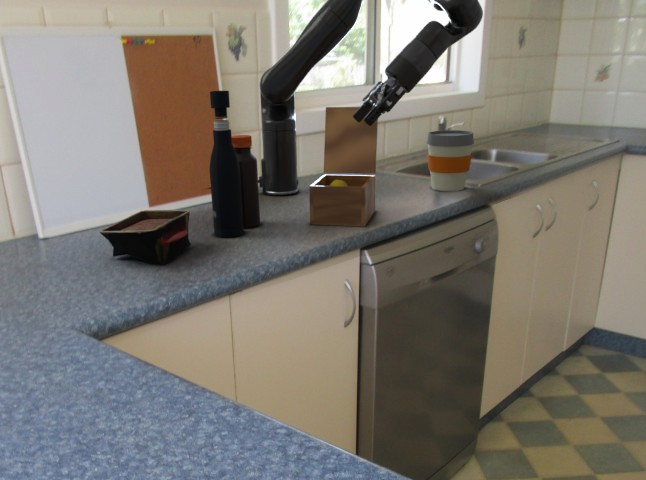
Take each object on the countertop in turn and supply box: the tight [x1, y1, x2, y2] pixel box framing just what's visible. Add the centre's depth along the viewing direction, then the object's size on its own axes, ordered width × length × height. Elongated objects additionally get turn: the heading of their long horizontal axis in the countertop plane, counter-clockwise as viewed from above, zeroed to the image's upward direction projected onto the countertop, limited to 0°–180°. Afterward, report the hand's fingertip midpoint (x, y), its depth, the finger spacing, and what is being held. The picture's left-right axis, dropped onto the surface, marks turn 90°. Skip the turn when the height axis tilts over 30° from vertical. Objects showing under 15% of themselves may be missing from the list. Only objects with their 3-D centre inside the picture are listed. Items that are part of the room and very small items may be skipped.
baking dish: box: [99, 209, 192, 266], centre depth 132 cm, size 14×18×10 cm
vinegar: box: [231, 134, 261, 229], centre depth 149 cm, size 7×7×20 cm
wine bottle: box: [209, 90, 245, 239], centre depth 140 cm, size 6×6×30 cm
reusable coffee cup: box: [426, 129, 475, 192], centre depth 183 cm, size 13×13×15 cm
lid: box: [323, 106, 379, 174], centre depth 161 cm, size 15×13×5 cm
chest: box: [308, 173, 376, 227], centre depth 155 cm, size 15×13×9 cm
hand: (360, 121), depth 149 cm, fingers open, 8 cm apart
